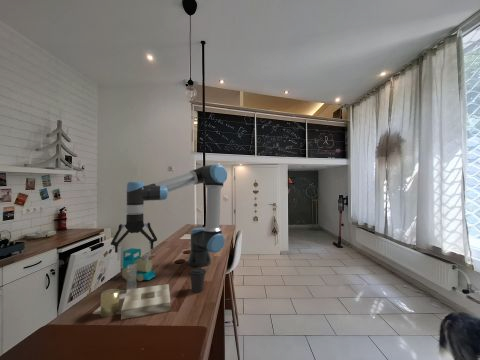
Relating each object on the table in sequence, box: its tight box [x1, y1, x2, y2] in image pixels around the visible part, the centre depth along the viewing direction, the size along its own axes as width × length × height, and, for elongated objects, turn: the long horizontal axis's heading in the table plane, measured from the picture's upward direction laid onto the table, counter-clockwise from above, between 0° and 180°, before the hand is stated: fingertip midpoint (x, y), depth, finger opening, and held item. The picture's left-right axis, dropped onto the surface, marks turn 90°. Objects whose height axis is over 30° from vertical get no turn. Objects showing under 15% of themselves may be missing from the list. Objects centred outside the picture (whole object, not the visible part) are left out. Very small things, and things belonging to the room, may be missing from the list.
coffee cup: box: [189, 267, 207, 294], centre depth 109 cm, size 8×8×10 cm
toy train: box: [121, 247, 157, 282], centre depth 124 cm, size 8×17×15 cm, turn 76°
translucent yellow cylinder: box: [99, 288, 120, 318], centre depth 90 cm, size 6×6×8 cm
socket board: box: [120, 283, 171, 321], centre depth 97 cm, size 18×18×4 cm
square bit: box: [125, 264, 138, 294], centre depth 109 cm, size 4×4×12 cm
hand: (134, 257), depth 108 cm, fingers open, 13 cm apart
